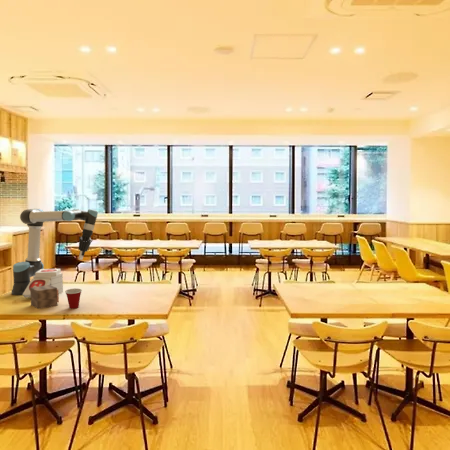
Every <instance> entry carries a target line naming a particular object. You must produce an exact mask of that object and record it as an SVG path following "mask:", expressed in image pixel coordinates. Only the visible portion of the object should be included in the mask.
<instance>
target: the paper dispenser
mask: <svg viewBox="0 0 450 450" xmlns="http://www.w3.org/2000/svg"><path fill="white" fill-rule="evenodd" d="M32 277H33V278H30V283H29V284H28V286H27V288H26V289H25V291H24V293H23V294H22V297H24V298H29V299H31V293H30V288H32V287H39V286H45V285H51V286H53V287H56V288H57V289H58V294H62V293H64V282H63V272H61V268H44V269H40V270H39V271H37V272H36V273H35V276H32Z"/></svg>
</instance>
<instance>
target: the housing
mask: <svg viewBox="0 0 450 450" xmlns="http://www.w3.org/2000/svg"><path fill="white" fill-rule="evenodd" d="M30 293H31V298H30V305H31V306H32V307H34V308H35V309H37V310H40V309H45V308H49V307H50V308H51V306H52V307H56V306H58V303H57V288H56V287H53V286H51V285H45V286H39V287H32V288H30Z"/></svg>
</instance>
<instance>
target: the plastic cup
mask: <svg viewBox="0 0 450 450" xmlns="http://www.w3.org/2000/svg"><path fill="white" fill-rule="evenodd" d="M82 291H83V290H82V289H81V288H70V289H69V288H68V289H66V290H65V291H64V293H65V295H66V297H67V303H68V306H69V309H70V308H71V310H72V309H78V308H79V306H80V301H81V300H80V299H81V295H82Z"/></svg>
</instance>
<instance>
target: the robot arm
mask: <svg viewBox="0 0 450 450" xmlns="http://www.w3.org/2000/svg"><path fill="white" fill-rule="evenodd" d="M98 212H99V211H97V210H95V209H90V208H89V209H88V210H82V209H79V208H74V209H72V210H52V211H50V210H49V211H48V210H47V211H44V210H43V209H40V208H30V209H28V208H27V209H24V210H23V211H21V212H20V215H19V219H20V221H21V222H22V223H23V224H24V225H26V226H27V228H28V239H27V241H28V243H27V246H28V247H27V257H26V258H25V259H24V260H25V261H20V262H17V263H14V264H13V265H12V275H13V285H12V289H11V295H13V296H14V295H16V296H18V295H19V296H21V295H22V294H23V293H24V291H25V289H26V288H27V286H28V284H29V283H30V281H31V278H32V277H33V276H35V273H36V272H37V271H39V270H40V269H45V268H44V265H45V264H44V263H43V262H42V259H41V258H40V251H41V250H40V249H41V231H42V228H43V226H44V223H45V222H71V221H79V220H81V221H84V224H83V229H82V232H81V233H82V235H81V236H79V237H78V238H79V241H78V250H79V254H78V255H79V256H78V260H81V261H83V259H84V256H85V253H86V252H88V251H89V248H90V246H91V243H92V242H94V240H93V239H92V236H93V233H94V230H95V225H96V222H97V218H98ZM22 296H23V295H22Z"/></svg>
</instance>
